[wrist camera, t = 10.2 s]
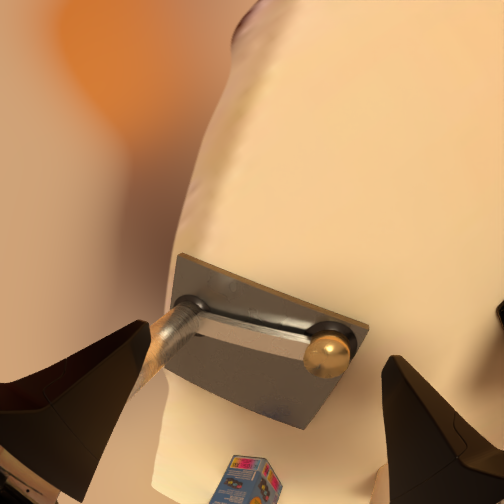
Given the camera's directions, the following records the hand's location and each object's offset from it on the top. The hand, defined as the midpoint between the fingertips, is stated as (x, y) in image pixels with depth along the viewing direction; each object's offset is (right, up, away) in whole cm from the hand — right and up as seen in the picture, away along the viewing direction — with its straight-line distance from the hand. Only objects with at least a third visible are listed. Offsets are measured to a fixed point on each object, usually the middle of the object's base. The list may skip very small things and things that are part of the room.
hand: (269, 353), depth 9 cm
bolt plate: (-1, -6, +16) cm, 17 cm away
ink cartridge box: (+1, -30, +23) cm, 37 cm away
